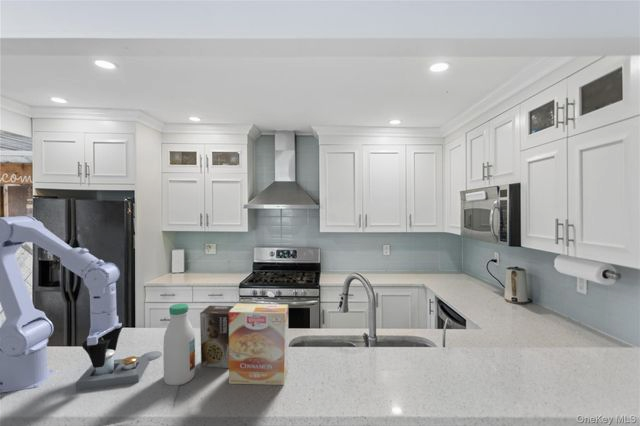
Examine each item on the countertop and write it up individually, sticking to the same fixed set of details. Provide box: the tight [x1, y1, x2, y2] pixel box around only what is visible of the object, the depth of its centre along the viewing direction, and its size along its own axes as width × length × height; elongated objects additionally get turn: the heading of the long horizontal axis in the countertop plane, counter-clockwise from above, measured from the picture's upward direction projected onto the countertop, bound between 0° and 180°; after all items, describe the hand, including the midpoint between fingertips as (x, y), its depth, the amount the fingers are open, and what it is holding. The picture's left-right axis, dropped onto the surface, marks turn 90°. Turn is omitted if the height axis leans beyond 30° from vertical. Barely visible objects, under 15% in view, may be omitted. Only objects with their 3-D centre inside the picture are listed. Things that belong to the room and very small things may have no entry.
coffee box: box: [199, 305, 235, 369], centre depth 90 cm, size 9×6×16 cm
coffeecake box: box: [228, 303, 289, 386], centre depth 83 cm, size 15×7×20 cm, turn 88°
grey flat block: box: [75, 356, 150, 392], centre depth 83 cm, size 14×10×2 cm
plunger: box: [122, 355, 137, 370], centre depth 84 cm, size 3×3×4 cm
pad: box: [140, 350, 163, 362], centre depth 93 cm, size 6×6×1 cm
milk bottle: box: [163, 303, 196, 386], centre depth 82 cm, size 8×8×20 cm
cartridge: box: [96, 349, 116, 376], centre depth 82 cm, size 5×5×7 cm
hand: (105, 359), depth 82 cm, fingers open, 7 cm apart
